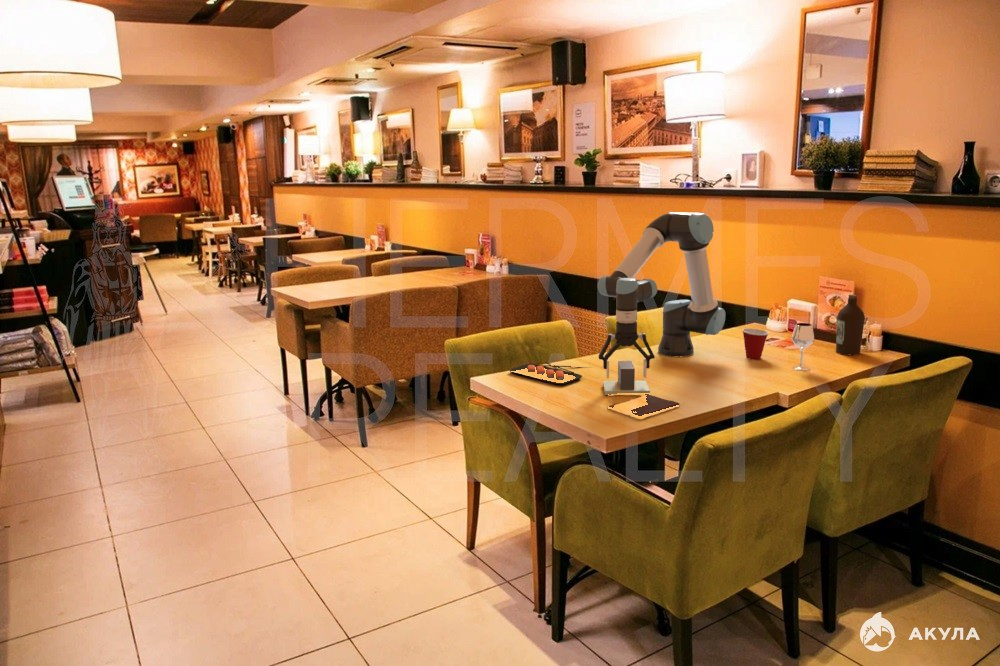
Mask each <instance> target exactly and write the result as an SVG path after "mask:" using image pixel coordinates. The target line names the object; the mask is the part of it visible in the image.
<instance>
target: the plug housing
mask: <svg viewBox="0 0 1000 666" xmlns="http://www.w3.org/2000/svg"><path fill="white" fill-rule="evenodd" d="M635 371H636V369H635V367H634V364H633V361H632V360H617V381H618V383H619V387H620V390H634V385H635V381H636V380H635V374H636V373H635Z"/></svg>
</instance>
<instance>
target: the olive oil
mask: <svg viewBox="0 0 1000 666" xmlns="http://www.w3.org/2000/svg"><path fill="white" fill-rule="evenodd" d="M857 303H858V295H856V294H848V298H847V303H846V305H844V306H843V307H842V308H841V309H840V310H839V311H838V313H837V316H836V334H835V335H836V337H835V338H836V339H835V340H836V341H835V343H836V344H835V352H836V353H837V354H839V353H840V355H843V354H851V355H850V356H854V355H853V354H858V355H860V354H861V350H862V349H861V348H862V340H863V333H864V328H865V321H866V316H865V313H864V311H863V310H862V309H861V307H860V306H859V305H858V304H857ZM859 353H860V354H859Z"/></svg>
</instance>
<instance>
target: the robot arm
mask: <svg viewBox="0 0 1000 666" xmlns="http://www.w3.org/2000/svg"><path fill="white" fill-rule="evenodd" d="M714 231H715V229H714V223H713V221H712V219H711V217H710V216H709V215H708V214H705V213H703V212H702V213H701V212H696V211H695V212H678V211H670V212H666V213H663V214H661V215H659V216H658V217H657V218H655V219H654V220H652V221H651V222H650V223H649V224H648V225H647V226H646V227H645V228H644V229H643V230H642V234H641V235H642V236H641V237H640V239H639V240H638V241H637V242H636V244H635V245H634V246H633V247H632V249H631V250H630V251H629V252H628V254H627V255H625V257H624V259H622V260H621V262H620V263H619V264H618V265H617V266H616V268H615V270H614V271H613V272H612V273H611V274H610V275H606V276H605V275H603V276H601V277H600V278H599V280H598V281H597V289H598V290H597V291H598V293H599V294H600V295H602V296H605V297H609V298H615V299H616V308H615V309H616V310H615V315H616V316H615V320H616V322H615V334H612V333H607V335H606V340H605V342H604V344H603V347H602V348H601V350H600V352H599V354H598V360H602V361H603V364H602V365H603V367H602V368H603V370H606V371H605V372H606V373H605V374H606V379H609V378H610V357H612V355H613V354H614V353H615V352H616V350H617V349H618V348H619V347H624V348H625V347H631V346H633V347H635V348H636V350H637V351H639V353H640V354H641V355H642V357H644V358H643V372H642V373H643V375H642V376H643V378H644V379H646V378H647V369H650V361H651V360H654V359H655V357H656V356H655V354H654V352H653V350H652V348H651V347H650V344H649V342H648V341H647V334H646V333H645V332H642V333H639V334H638V322H637V320H638V303H640V302H643V301H648V300H650V299H652V298H654V297H655V296H656V295H657V293H658V286H657V283H656V282H655V280H653V279H651V278H643V279H637V278H635V277H636V275H637V274H638V273H639V272H640V271H641V269H642V268H643V267H644V265H645V264H646V262H648V260H649V259H650V257H652V255H653V254H654V253H655V252H656V250H657V249H658V248H661V247H662V246H664V244H665V243H668V242H674V243H675V242H677V243H678V247H679V248H678V249H679V250H680V251H682V252H683V253H684V259H685V268H686V271H687V279H688V285H689V291H690V298H691V300H690V299H675V300H670V301H667V302H665V303H663V308H662V309H663V310H662V336H661V338H660V341H659V344H658V347H657V349H658V350H657V351H658V354H660V355H662V356H666V357H673V356H678V357H679V358H680V356H683V357H689V356H692V355H694V351H695V350H694V345H693V341H692V338H691V333H698V334H701V335H703V334H704V335H705V336H706V335H707V336H710V335H711V336H716V335H718V334H719V333H720V332H721V331H722V329H723V327H724V325H725V321H726V311H725V309H724V308H722V307H719V303H718V300H717V299H716V298H714V295H713V294H714V293H713V287H712V281H711V274H710V268H709V258H708V254H707V248H708V246H709V245H710V242H712V240H713V237H714ZM614 339H615V342H614V344H613V345H612V346H611V348H610V349H609V350H608V351H607V349H608V348H609V346H610V344H611V343H612V341H614ZM638 339H640V340H641V341H642V342H643V344H644V346H645V347H646V350H647V351H648V353H649V354H648V353H647V352H645V350H644V349H643V348H642V347H641V346H640V344H639V343H637V341H638Z"/></svg>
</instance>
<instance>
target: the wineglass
mask: <svg viewBox="0 0 1000 666" xmlns="http://www.w3.org/2000/svg"><path fill="white" fill-rule="evenodd" d="M791 340H792V342H793V344H794V346H796V347H797V348H798V349H799V350H800V361H799V365H793V366H792V367H791V368H792V369H793V370H794V371H795V370H796V371H801V370H802V371H809V370H810V367H808V366H806V365H803V361H804V359H803V358H804V357H803V356H804V351H805V350H806V349H807V348H809V347H810V346H812V345H813V343H814V342H815V333H814V329H813V324H812V323H807V322H798V323H795V325H794V329H793V332H792V335H791Z"/></svg>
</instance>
